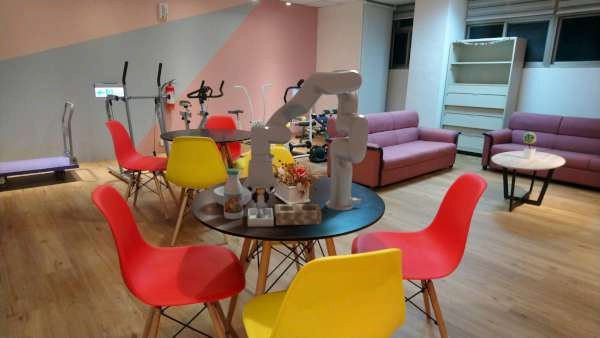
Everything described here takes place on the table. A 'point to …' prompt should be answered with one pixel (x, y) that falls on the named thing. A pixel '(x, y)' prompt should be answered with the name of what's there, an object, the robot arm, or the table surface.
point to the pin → (260, 202)
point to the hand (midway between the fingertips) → (260, 201)
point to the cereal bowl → (220, 195)
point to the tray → (260, 221)
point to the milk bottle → (233, 196)
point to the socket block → (297, 214)
